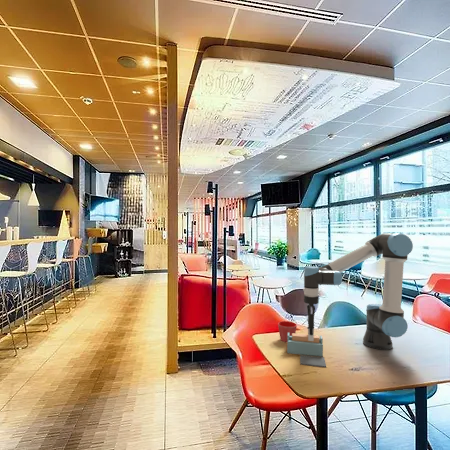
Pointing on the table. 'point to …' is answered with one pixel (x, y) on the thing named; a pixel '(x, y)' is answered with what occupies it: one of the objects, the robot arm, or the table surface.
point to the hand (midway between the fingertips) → (310, 339)
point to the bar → (304, 338)
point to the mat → (312, 361)
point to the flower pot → (286, 329)
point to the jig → (305, 347)
